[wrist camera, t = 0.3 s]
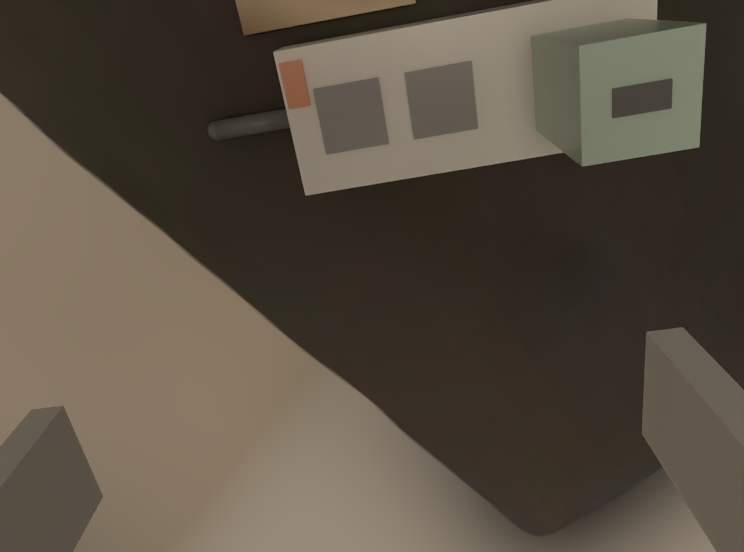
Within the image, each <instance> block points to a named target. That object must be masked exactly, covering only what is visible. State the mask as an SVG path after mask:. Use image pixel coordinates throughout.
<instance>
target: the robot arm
mask: <svg viewBox="0 0 744 552" xmlns="http://www.w3.org/2000/svg"><path fill="white" fill-rule="evenodd" d="M642 435H643V436H644V438H645V439H646V441H647V443H648V444H649V446H650V447H651V449H652V450H653V452H654V454H655V455H656V457H657V458H658V460H659V461H660V463H661V465H662V466H663V468H664V469H665V471H666V472H667V474H668V475H669V477H670V479H671V480H672V482H673V484H674V485H675V486H676V488H677V490H678V491H679V493H680V495H681V496H682V498H683V499H684V501H685V502H686V504H687V506H688V507H689V509H690V510H691V512H692V513H693V515H694V517H695V518H696V520H697V521H698V523H699V524H700V526H701V528H702V529H703V531H704V532H705V534H706V536H707V537H708V539H709V540H710V542H711V544H712V545H713V547H714V548H715V550H716V551H717V552H744V390H743V389H742V388H741V387H740V386H739V385H738V384H737V383H736V382H735V381H734V380H733V379H732V378H731V377H730V376H729V374H728V373H727V372H726V371H725V370H724V369H723V368H722V367H721V366H720V365H719V364H718V363H717V362H716V361H715V360H714V359H713V358H712V357H711V356H710V355H709V354H708V353H707V352H706V351H705V350H704V349H703V348H702V347H701V346H700V345H699V344H698V343H697V342H696V341H695V339H694V338H693V337H692V336H691V335H690V334H689V333H688V332H687V331H686V330H685V329H684V328H683V327H682V328H674V329H666V330H658V331H650V332H646V354H645V376H644V397H643V419H642ZM102 497H103V495H102V493H101V491H100V489H99V486H98V484H97V482H96V480H95V477H94V475H93V473H92V470H91V468H90V466H89V463H88V461H87V459H86V456H85V454H84V452H83V450H82V447H81V445H80V443H79V441H78V438H77V436H76V434H75V431H74V429H73V427H72V425H71V422H70V420H69V418H68V416H67V413H66V411H65V409H64V407H63V406H58V407H50V408H42V409H34V410H31V411H30V412H29V413H28V414H27V416H26V417H25V418H24V419H23V420H22V421H21V423H20V424H19V425H18V426H17V427H16V429H15V430H14V431H13V432H12V433H11V434H10V436H9V437H8V438H7V439H6V440H5V442H4V443H3V444H2V445H1V446H0V552H73V550H74V548H75V547H76V545H77V543H78V541H79V539H80V537H81V536H82V534H83V532H84V530H85V528H86V527H87V525H88V523H89V521H90V519H91V517H92V516H93V514H94V512H95V510H96V508H97V506H98V505H99V503H100V501H101V499H102Z"/></svg>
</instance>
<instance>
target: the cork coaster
mask: <svg viewBox="0 0 744 552" xmlns="http://www.w3.org/2000/svg"><path fill="white" fill-rule="evenodd" d="M235 1H236V5H237V9H238V13H239V18H240V22H241V26H242V30H243V34H244V35H249V34H254V33H260V32H265V31H270V30H276V29H281V28H286V27H292V26H297V25H302V24H308V23H313V22H318V21H324V20H329V19H334V18H340V17H345V16H350V15H356V14H361V13H366V12H372V11H377V10H382V9H388V8H393V7H398V6H404V5H409V4H414V3H416V2H415V0H235Z"/></svg>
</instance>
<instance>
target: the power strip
mask: <svg viewBox="0 0 744 552" xmlns="http://www.w3.org/2000/svg"><path fill="white" fill-rule="evenodd" d="M625 18H634V19H650V20H657V0H533V1H527V2H522V3H517V4H511V5H506V6H500V7H495V8H490V9H484V10H479V11H474V12H468V13H463V14H457V15H452V16H447V17H441V18H436V19H430V20H425V21H420V22H414V23H409V24H403V25H398V26H393V27H387V28H382V29H376V30H371V31H366V32H360V33H355V34H349V35H344V36H339V37H333V38H328V39H322V40H317V41H312V42H306V43H301V44H295V45H290V46H285V47H282V48H280V49H278V50H276V51H274V52H273V54H274V59H275V63H276V68H277V72H278V76H279V81H280V85H281V90H282V94H283V99H284V103H285V107H286V108H284V109H279V110H273V111H267V112H262V113H256V114H250V115H245V116H239V117H234V118H228V119H222V120H217V121H213V122H211V123H210V124H209V125H208V128H207V132H208V135H209V137H210V138H211V139H213V140H216V141H220V140H226V139H232V138H237V137H243V136H249V135H254V134H260V133H266V132H272V131H277V130H283V129H289V128H290V130H291V134H292V138H293V143H294V147H295V152H296V156H297V161H298V165H299V169H300V174H301V178H302V183H303V187H304V192H305V196H307V195H313V194H318V193H324V192H330V191H336V190H342V189H348V188H354V187H360V186H366V185H372V184H378V183H384V182H390V181H396V180H402V179H408V178H414V177H420V176H426V175H432V174H438V173H444V172H450V171H456V170H462V169H468V168H474V167H480V166H486V165H492V164H498V163H504V162H510V161H516V160H522V159H528V158H534V157H540V156H546V155H552V154H558V153H564V152H563V151H561V150H560V149H559V148H558V147H556V146H555V145H554V144H553V143H551V142H550V141H549V140H547V139H546V138H545V137H544V136H542V135H541V134H540V133H538V132H537V131H536V121H535V104H534V86H533V68H532V50H531V35H537V34H542V33H548V32H554V31H559V30H565V29H570V28H576V27H581V26H587V25H592V24H598V23H603V22H609V21H614V20H620V19H625Z"/></svg>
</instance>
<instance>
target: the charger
mask: <svg viewBox="0 0 744 552" xmlns="http://www.w3.org/2000/svg"><path fill="white" fill-rule="evenodd" d="M705 38H706V23H696V22H681V21H665V20H650V19H634V18H625V19H620V20H614V21H609V22H603V23H598V24H592V25H587V26H581V27H576V28H570V29H565V30H559V31H554V32H548V33H542V34H537V35H531V50H532V68H533V86H534V104H535V121H536V131H537V132H538V133H540V134H541V135H542V136H544V137H545V138H546V139H547V140H549V141H550V142H551V143H553V144H554V145H555V146H556V147H558V148H559V149H560V150H561V151H563V152H564V153H565V154H567V155H568V156H569V157H570V158H572V159H573V160H574V161H576V162H577V163H578V164H579V165H581V166H582V167H583V166H589V165H595V164H601V163H607V162H613V161H619V160H625V159H631V158H637V157H643V156H649V155H655V154H661V153H667V152H673V151H679V150H685V149H691V148H698V147H699V142H700V125H701V107H702V90H703V73H704V55H705Z"/></svg>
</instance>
